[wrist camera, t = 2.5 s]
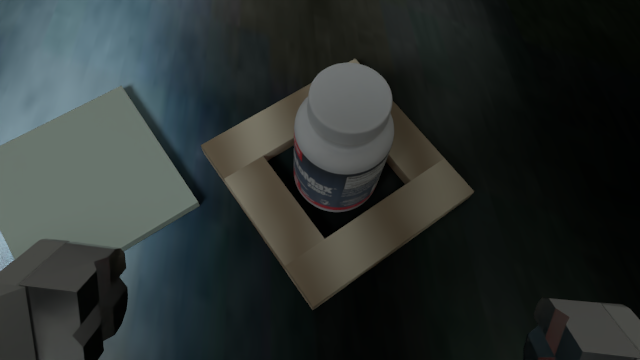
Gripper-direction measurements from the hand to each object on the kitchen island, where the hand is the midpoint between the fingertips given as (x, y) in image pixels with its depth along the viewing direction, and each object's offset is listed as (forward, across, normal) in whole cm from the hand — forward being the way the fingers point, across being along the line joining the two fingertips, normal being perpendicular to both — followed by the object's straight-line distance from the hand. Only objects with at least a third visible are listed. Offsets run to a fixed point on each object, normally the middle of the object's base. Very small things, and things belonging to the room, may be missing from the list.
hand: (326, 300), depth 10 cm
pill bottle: (+21, 0, -6) cm, 22 cm away
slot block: (+21, 0, -6) cm, 22 cm away
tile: (+19, -15, -7) cm, 25 cm away
